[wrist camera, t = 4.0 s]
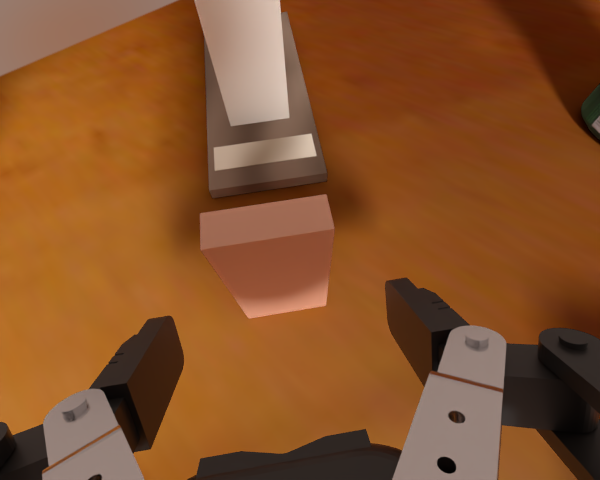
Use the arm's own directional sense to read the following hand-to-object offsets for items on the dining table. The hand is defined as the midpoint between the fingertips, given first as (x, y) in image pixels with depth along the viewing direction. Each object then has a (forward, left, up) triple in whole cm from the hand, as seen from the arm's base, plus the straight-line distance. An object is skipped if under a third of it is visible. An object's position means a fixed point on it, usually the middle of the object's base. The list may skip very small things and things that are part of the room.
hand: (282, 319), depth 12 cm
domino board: (0, +24, -8) cm, 25 cm away
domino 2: (0, +3, -8) cm, 9 cm away
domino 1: (0, +20, -7) cm, 21 cm away
